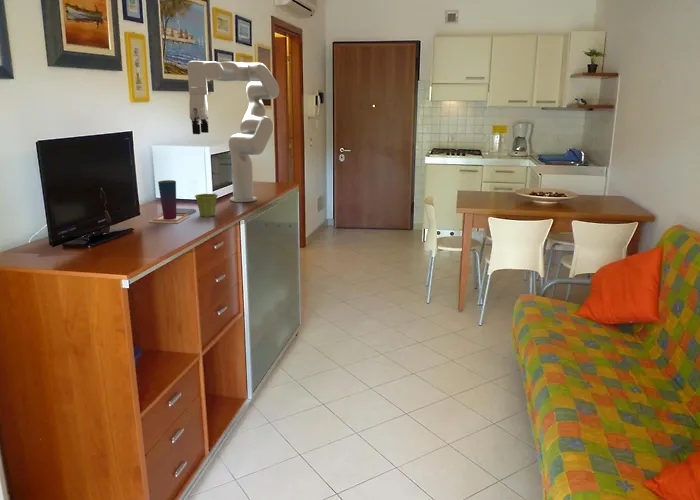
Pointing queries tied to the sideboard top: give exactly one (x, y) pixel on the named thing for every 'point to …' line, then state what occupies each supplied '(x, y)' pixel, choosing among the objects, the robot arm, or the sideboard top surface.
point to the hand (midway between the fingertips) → (200, 133)
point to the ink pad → (184, 211)
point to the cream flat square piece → (161, 220)
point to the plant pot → (206, 204)
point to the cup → (168, 198)
